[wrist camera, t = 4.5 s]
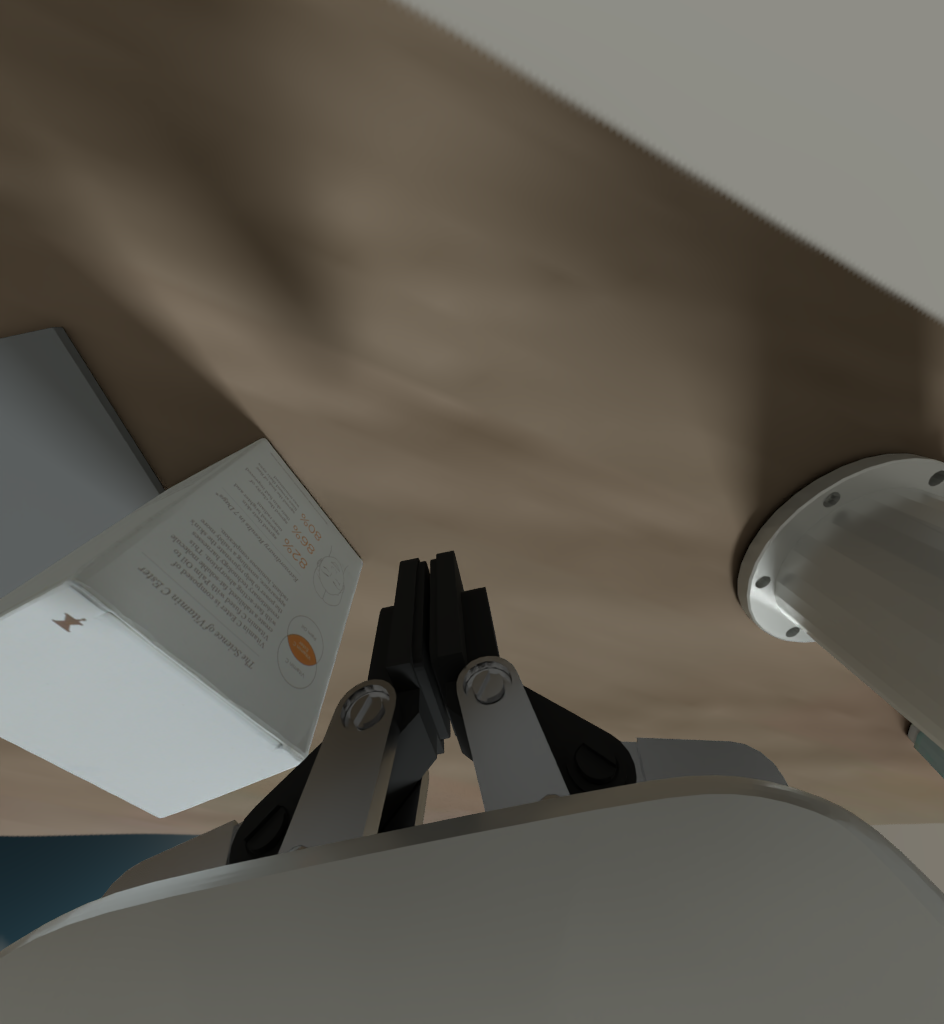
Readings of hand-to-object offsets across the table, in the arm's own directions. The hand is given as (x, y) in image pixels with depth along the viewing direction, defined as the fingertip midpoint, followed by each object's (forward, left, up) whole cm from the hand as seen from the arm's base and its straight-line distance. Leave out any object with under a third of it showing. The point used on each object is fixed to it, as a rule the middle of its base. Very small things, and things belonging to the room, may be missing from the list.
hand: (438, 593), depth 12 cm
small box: (+8, 0, -8) cm, 12 cm away
